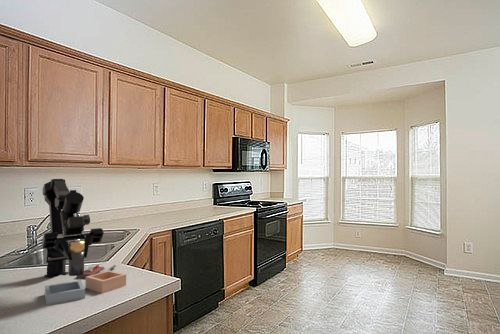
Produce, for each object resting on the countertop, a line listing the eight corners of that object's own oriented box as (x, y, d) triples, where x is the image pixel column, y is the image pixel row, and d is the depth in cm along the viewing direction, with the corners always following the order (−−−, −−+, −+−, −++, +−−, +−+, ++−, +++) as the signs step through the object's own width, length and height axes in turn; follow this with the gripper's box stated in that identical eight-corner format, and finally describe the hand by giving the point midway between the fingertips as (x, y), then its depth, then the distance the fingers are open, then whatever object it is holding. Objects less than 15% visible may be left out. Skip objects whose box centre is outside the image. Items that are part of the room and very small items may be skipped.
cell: (74, 271, 118) (75, 237, 118) (87, 272, 117) (87, 238, 117) (65, 275, 113) (65, 240, 113) (78, 276, 112) (79, 241, 112)
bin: (85, 290, 121) (85, 276, 121) (109, 283, 129) (109, 270, 129) (102, 296, 116) (102, 281, 116) (126, 288, 124) (126, 274, 124)
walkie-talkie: (95, 283, 131) (117, 269, 151) (95, 271, 131) (117, 259, 151) (73, 282, 131) (98, 268, 151) (73, 271, 131) (98, 259, 151)
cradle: (44, 297, 114) (44, 285, 114) (80, 291, 120) (80, 280, 120) (46, 308, 105) (46, 295, 105) (85, 301, 111) (85, 288, 111)
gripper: (44, 209, 112) (49, 247, 104) (102, 206, 124) (111, 240, 116) (39, 229, 118) (44, 268, 110) (96, 224, 130) (104, 259, 122)
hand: (77, 258), depth 114 cm, fingers closed on cell, 5 cm apart
